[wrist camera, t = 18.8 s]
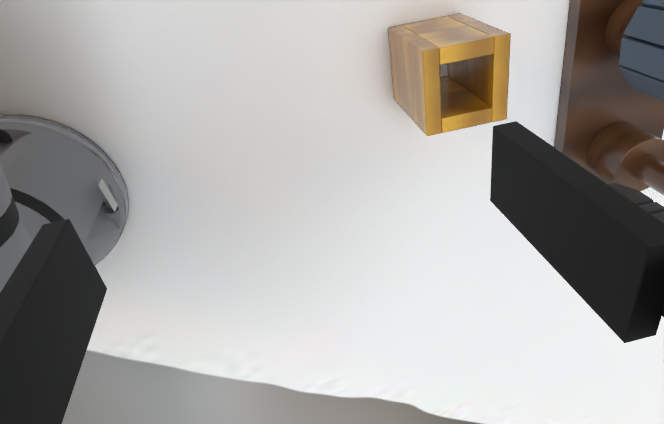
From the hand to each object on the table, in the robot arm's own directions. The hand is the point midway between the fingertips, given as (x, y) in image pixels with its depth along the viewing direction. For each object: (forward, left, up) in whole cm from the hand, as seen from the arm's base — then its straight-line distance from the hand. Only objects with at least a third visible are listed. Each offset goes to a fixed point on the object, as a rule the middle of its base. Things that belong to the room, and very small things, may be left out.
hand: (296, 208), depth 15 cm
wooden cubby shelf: (+9, -12, -28) cm, 32 cm away
